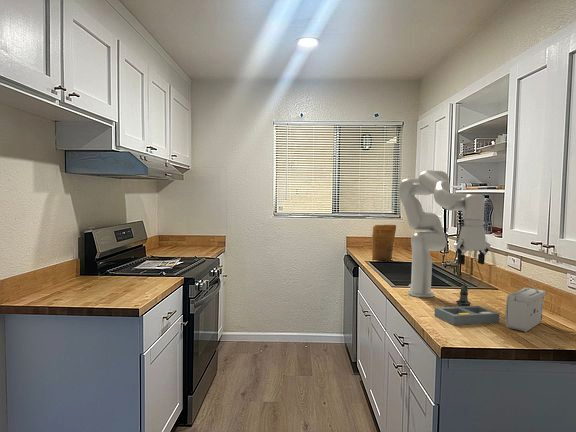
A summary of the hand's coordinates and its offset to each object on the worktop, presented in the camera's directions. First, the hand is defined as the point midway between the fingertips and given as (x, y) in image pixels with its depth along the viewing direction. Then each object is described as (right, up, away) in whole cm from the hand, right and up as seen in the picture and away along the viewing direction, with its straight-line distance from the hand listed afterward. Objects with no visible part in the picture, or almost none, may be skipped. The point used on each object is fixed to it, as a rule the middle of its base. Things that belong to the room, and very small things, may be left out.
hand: (471, 263), depth 172 cm
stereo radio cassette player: (+15, -23, -14) cm, 30 cm away
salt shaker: (-1, -21, +6) cm, 22 cm away
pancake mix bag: (-4, -14, +142) cm, 143 cm away
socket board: (-6, -21, -8) cm, 23 cm away
